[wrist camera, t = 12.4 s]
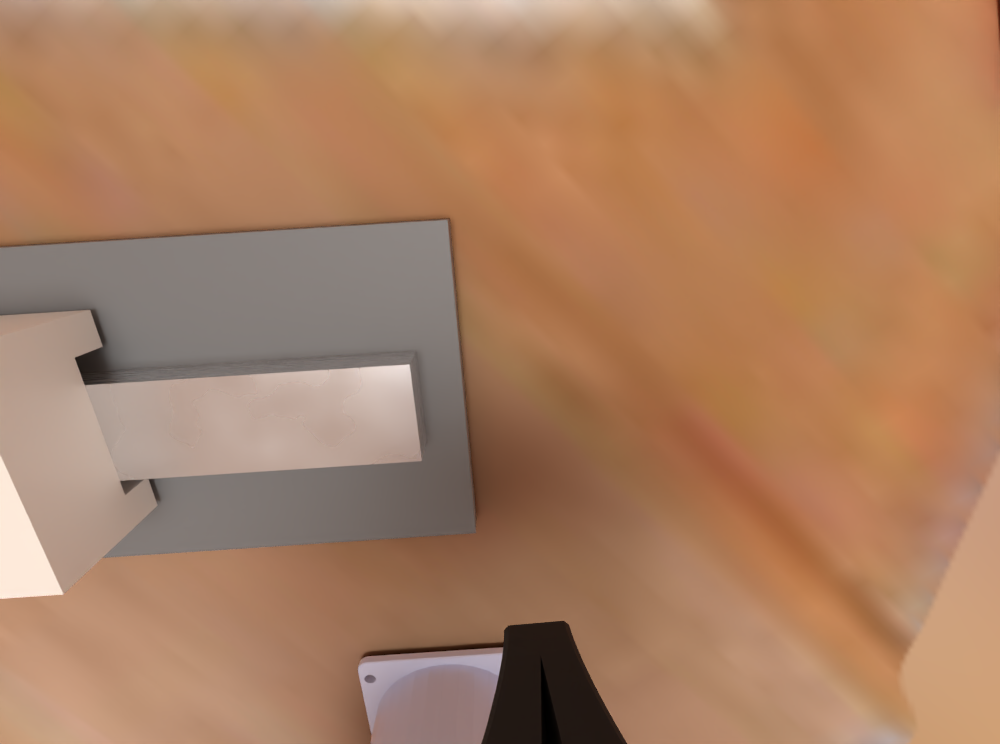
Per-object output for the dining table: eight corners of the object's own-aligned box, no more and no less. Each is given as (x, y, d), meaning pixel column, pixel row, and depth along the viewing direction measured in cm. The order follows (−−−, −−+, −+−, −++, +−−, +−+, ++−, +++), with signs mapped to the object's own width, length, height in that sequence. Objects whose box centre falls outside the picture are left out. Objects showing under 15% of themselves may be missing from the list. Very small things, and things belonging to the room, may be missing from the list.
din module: (157, 505, 19) (46, 610, 14) (50, 512, 19) (-97, 619, 14) (90, 309, 16) (-75, 357, 11) (-34, 317, 16) (-249, 368, 11)
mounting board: (476, 517, 21) (475, 533, 20) (-52, 552, 21) (-77, 569, 20) (449, 218, 17) (447, 219, 16) (-208, 259, 17) (-249, 263, 16)
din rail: (426, 440, 18) (421, 461, 17) (-88, 473, 18) (-136, 497, 17) (415, 350, 17) (409, 364, 16) (-135, 385, 17) (-191, 403, 16)
